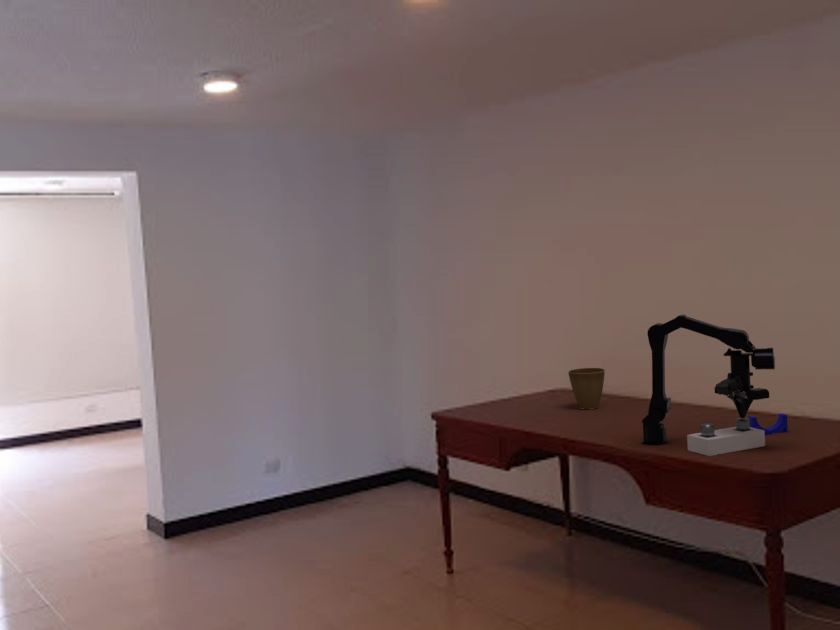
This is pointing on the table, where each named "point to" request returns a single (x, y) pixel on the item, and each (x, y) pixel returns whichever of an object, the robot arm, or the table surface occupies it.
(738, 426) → the far peg
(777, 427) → the blue arch block
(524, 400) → the table surface
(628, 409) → the table surface
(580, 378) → the plant pot
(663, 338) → the robot arm
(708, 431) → the near peg
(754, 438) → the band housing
